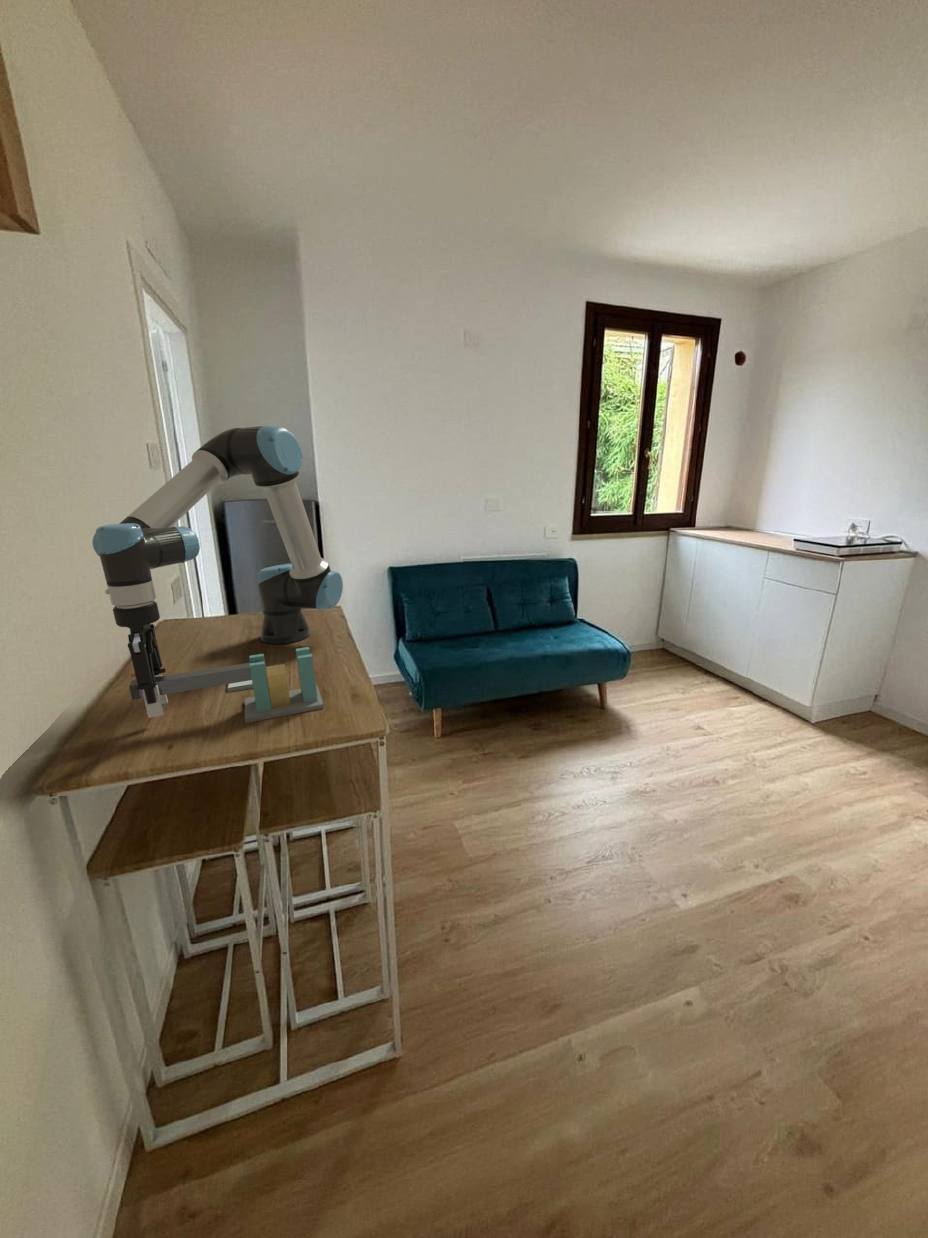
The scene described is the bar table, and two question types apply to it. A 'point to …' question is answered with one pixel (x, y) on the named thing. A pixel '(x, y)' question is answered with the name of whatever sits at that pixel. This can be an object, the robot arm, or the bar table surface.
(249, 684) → the hard drive
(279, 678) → the block
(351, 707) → the bar table surface
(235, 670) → the shaft
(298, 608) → the robot arm
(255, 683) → the block
